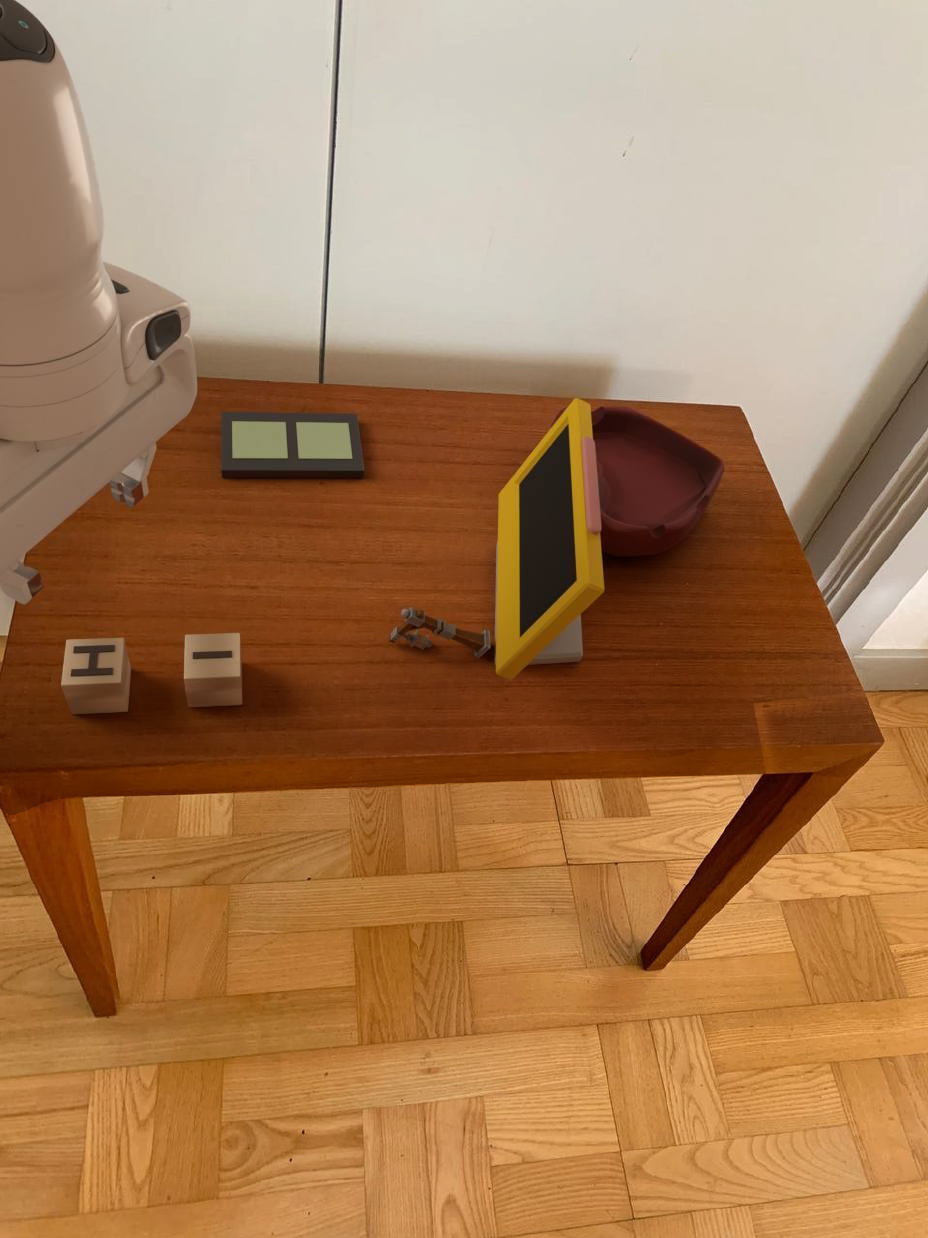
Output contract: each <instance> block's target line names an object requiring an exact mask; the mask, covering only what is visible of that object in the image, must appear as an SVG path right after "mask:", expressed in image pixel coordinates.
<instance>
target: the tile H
mask: <svg viewBox="0 0 928 1238" xmlns="http://www.w3.org/2000/svg"><path fill="white" fill-rule="evenodd" d="M129 657H130V656H129V653H128V649H127V645H126V640H125V638H124V637H106V638H105V637H104V638H75V639H73V638H72V639H70V638H69V639H66V641H65V649H64V655H63V666H62V674H61V681H60V686H61V689H62V692H63V695H64V698H65V701H66V704H67V707H68V709H69V712H70V715H89V714H90V715H91V714H107V713H109V714H110V713H111V714H112V713H128V712H129V703H130V686H131V674H132V666H131V662H130V658H129Z"/></svg>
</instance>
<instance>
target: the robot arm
mask: <svg viewBox="0 0 928 1238" xmlns="http://www.w3.org/2000/svg"><path fill="white" fill-rule="evenodd" d="M98 179H99V178H98V174H97V168H96V164H95V160H94V155H93V150H92V145H91V141H90V135H89V132H88V128H87V124H86V119H85V116H84V113H83V109H82V105H81V102H80V98H79V95H78V93H77V89H76V86H75V83H74V81H73V78H72V75H71V72H70V70H69V68H68V65H67V63H66V61H65V58H64V56H63V54H62V52H61V50H60V48H59V46H58V45H57V43H56V41H55V39H54V38H53V36H52V35H51V33H50V31H48V29H47V28H46V27H45V25H44V24H43V23H42V22H41V20H40V19H39V18H37V16H35V14H34V13H32V12H31V11H30V10H29V9H27V8H26V7H25V6H24V5H23V4H21V3H20V2H18V1H17V0H0V589H1V591H2V592H3V593H4V594H5V595H6V596H7V597H8V598H10V599H12V600H14V601H16V602H17V603H19V604H21V605H27V604H28V603H29V602H30V601H31V600H32V599H33V598H34V597H35V596H36V595H37V594H38V593H39V592H40V591H41V590H42V589H44V588H45V586H44V583H43V582H41V581H42V577H41V574H40V571H39V570H37V569H35V568H33V567H31V566H25V563H24V562H22V561H20V559H21V558H23V557H24V556H25V555H26V554H27V553H28V552H29V551H30V550H32V549H33V548H34V547H35V546H36V545H38V544H39V543H40V542H41V541H42V540H43V539H44V538H45V537H48V535H50V534H51V532H53V531H54V530H55V529H56V528H57V527H59V526H60V524H62V523H63V522H64V521H66V520H67V519H68V518H69V517H70V516H72V515H73V513H75V512H76V511H77V510H78V509H80V508H81V507H82V506H83V505H85V504H86V503H87V502H88V501H89V500H90V499H92V497H94V496H95V495H96V494H97V493H98V492H100V491H101V490H102V489H103V488H104V487H106V486H107V484H109V486H110V487H111V489H110V493H111V496H112V497H113V499H114V500H116V502H119V503H125V505H126V506H127V507H129V508H134V507H135V506H137V504H139V503H140V502H141V501H142V500H143V499H144V498H146V497H147V496H148V495H149V492H150V491H149V485H148V479H147V477H148V476H149V473H150V470H151V467H152V463H153V460H154V458H155V454H156V451H157V449H158V447H157V442H158V441H160V439H161V438H162V437H164V436H165V435H166V434H167V433H168V432H169V431H171V430H172V429H173V428H174V427H175V426H176V425H178V424H179V423H180V422H182V421H183V419H185V418H186V417H187V416H189V414H190V413H191V411H192V408H193V406H194V403H195V401H196V398H197V395H198V375H197V373H198V372H197V364H196V355H195V349H194V348H195V347H194V344H193V340H192V338H191V335H190V334H189V330H190V327H191V321H192V320H191V318H192V317H191V307H190V303H189V302H188V300H186V299H185V298H183V297H181V296H180V295H178V294H176V293H174V292H173V291H171V290H169V289H168V288H166V287H163V286H162V285H160V284H157V283H156V282H153V281H152V280H150V279H147V278H146V277H143V276H141V275H139V274H137V273H134V272H132V271H129V270H127V269H124V268H122V267H120V266H117V265H114V264H112V263H109V262H105V261H103V257H102V244H103V240H104V239H103V238H104V233H105V217H104V208H103V202H102V195H101V190H100V184H99V180H98Z"/></svg>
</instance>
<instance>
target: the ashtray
mask: <svg viewBox="0 0 928 1238" xmlns="http://www.w3.org/2000/svg"><path fill="white" fill-rule="evenodd" d="M567 408H568V406H565V407H563V408H562V409H560V410H559V412H558V413H557V414H556V416H555V418H554V419H553V422H552V423H551V424H550V427H549V430H550V429H551V428H552V426H553V425H554V424H555V423H556V421H557V420H558V419H559V418H560V416H561V415H562V414H563V413H564V411H565V410H566V409H567ZM591 421H592V434H593V440H594V442H595V451H596V463H597V476H598V489H599V502H600V515H601V528H602V529H601V532H600V539H601V552H602V556H603V555H604V556H608V557H643V556H654V555H657V554H661V553H664V552H666V551H668V550H670V549H671V548H674V547H675V546H676V545H678V544H679V543H680V542H682V541H683V540H684V539H685V538H686V537H687V536H688V534H689V533H690V532H691V531H692V529H693V528H694V526H695V525H696V523H697V522H698V521H699V519H700V518H701V517H702V515H703V514H704V512H705V511H706V509H708V506H709V505H710V503H711V501H712V499H713V497H714V496H715V494H716V492H717V490H718V487H719V486H720V483H721V481H722V478H723V475H724V472H725V462H724V460H722V459H721V457H719V456H718V455H716V453H713V452H712V451H710V450H709V449H707V448H706V447H704V446H702V445H701V444H699V443H697V442H696V441H694V440H692V439H690V438H689V437H687V436H685V435H683V434H681V433H679V432H678V431H676V430H675V429H673V428H670V427H668V425H665V424H664V423H662V422H659V421H658V420H656V419H654V418H652V417H650V416H649V415H646V414H645V413H644V412H641V411H640V410H638V409H635V408H633V407H630V406H627V405H601V406H599V407H597V408H596V409H595V410H591Z"/></svg>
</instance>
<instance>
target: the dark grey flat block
mask: <svg viewBox="0 0 928 1238" xmlns="http://www.w3.org/2000/svg"><path fill="white" fill-rule="evenodd" d="M220 413H221V416H220V420H221V421H220V422H221V423H220V427H221V428H220V429H221V431H220V432H221V433H220V434H221V440H220V441H221V442H220V443H221V444H220V445H221V447H220V449H221V450H220V454H221V455H220V456H221V458H220V459H221V460H220V462H221V464H220V465H221V466H220V467H221V469H220V470H221V478H222V479H364V477H365V463H364V457H363V448H362V442H361V441H362V440H361V433H360V426H359V418H358V413H334V412H333V413H331V412H330V413H329V412H328V413H327V412H274V411H273V412H269V411H221V412H220Z"/></svg>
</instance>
